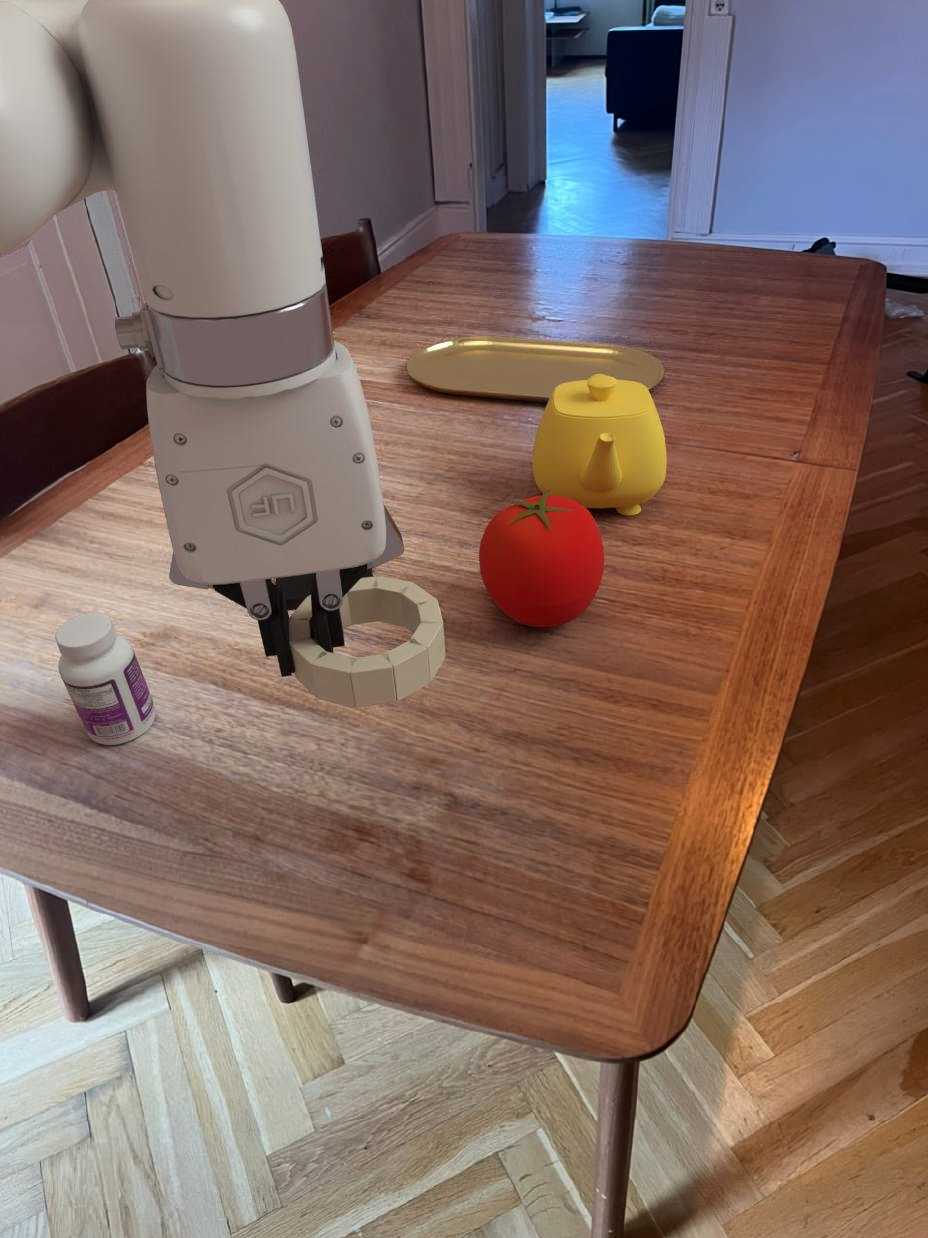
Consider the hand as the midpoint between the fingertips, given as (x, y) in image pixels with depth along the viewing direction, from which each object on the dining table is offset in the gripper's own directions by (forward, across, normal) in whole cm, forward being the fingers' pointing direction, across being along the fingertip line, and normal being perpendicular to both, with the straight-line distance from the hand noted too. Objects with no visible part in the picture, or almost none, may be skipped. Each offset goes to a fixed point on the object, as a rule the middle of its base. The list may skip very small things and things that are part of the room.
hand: (307, 655), depth 49 cm
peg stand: (+16, 0, +32) cm, 36 cm away
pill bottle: (+17, -17, +15) cm, 28 cm away
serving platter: (+16, +30, +73) cm, 81 cm away
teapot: (+16, +29, +39) cm, 51 cm away
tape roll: (+1, +3, 0) cm, 3 cm away
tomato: (+16, +19, +22) cm, 33 cm away
